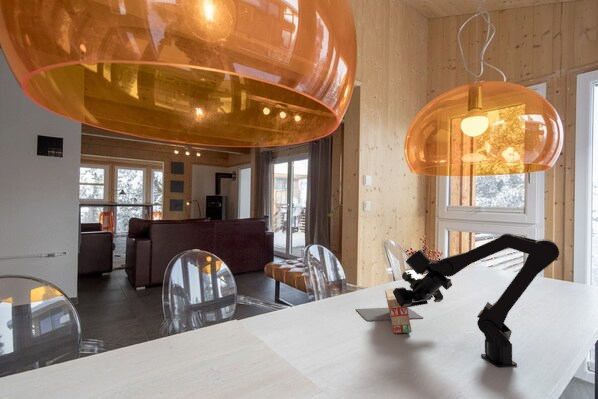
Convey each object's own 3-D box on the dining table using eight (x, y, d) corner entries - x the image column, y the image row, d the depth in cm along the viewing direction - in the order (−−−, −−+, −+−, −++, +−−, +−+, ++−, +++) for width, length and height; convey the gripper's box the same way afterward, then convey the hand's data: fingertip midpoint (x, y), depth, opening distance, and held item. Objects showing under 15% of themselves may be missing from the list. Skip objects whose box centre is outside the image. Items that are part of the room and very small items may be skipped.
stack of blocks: (388, 311, 124) (383, 282, 125) (403, 310, 123) (398, 281, 123) (393, 334, 103) (387, 299, 104) (412, 332, 102) (405, 297, 102)
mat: (423, 318, 118) (423, 317, 118) (367, 321, 115) (367, 320, 115) (406, 307, 131) (406, 306, 131) (355, 309, 127) (355, 308, 127)
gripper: (437, 262, 109) (415, 285, 119) (396, 265, 102) (376, 289, 112) (455, 289, 101) (430, 311, 111) (412, 295, 94) (390, 317, 104)
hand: (406, 306), depth 110 cm, fingers closed
